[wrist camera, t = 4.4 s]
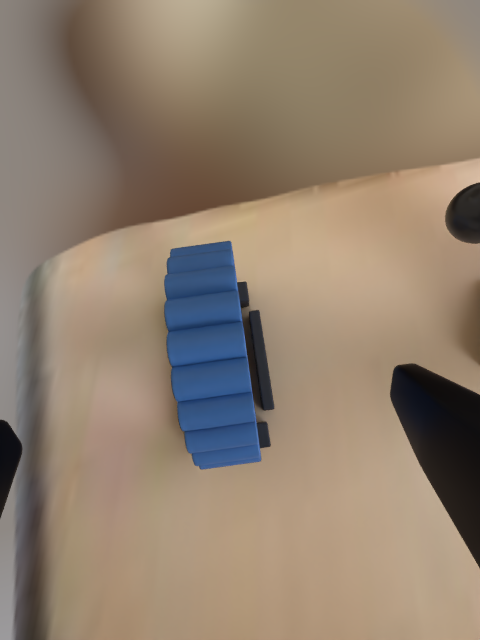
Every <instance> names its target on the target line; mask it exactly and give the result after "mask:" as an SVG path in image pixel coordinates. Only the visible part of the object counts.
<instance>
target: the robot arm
mask: <svg viewBox="0 0 480 640" xmlns="http://www.w3.org/2000/svg"><path fill="white" fill-rule="evenodd" d="M390 397H391V401H392V404H393V406H394V408H395V411H396V413H397V415H398V417H399V419H400V422H401V424H402V426H403V428H404V431H405V433H406V435H407V437H408V440H409V442H410V444H411V446H412V449H413V451H414V453H415V455H416V457H417V459H418V461H419V463H420V465H421V467H422V469H423V471H424V473H425V474H426V476H427V478H428V480H429V481H430V483H431V485H432V487H433V488H434V490H435V492H436V493H437V495H438V497H439V499H440V500H441V502H442V504H443V506H444V507H445V509H446V511H447V512H448V514H449V516H450V518H451V519H452V521H453V523H454V525H455V526H456V528H457V530H458V531H459V533H460V535H461V537H462V538H463V540H464V542H465V544H466V545H467V547H468V549H469V550H470V552H471V554H472V556H473V557H474V559H475V561H476V563H477V564H478V566H479V568H480V395H479V394H477V393H475V392H473V391H471V390H469V389H467V388H465V387H462V386H460V385H458V384H456V383H454V382H452V381H450V380H448V379H446V378H444V377H442V376H440V375H438V374H435V373H433V372H431V371H429V370H427V369H425V368H423V367H421V366H419V365H417V364H413V363H411V364H403V365H397V366H396V367H395V368H394V370H393V376H392V383H391V390H390ZM21 455H22V444H21V442H20V440H19V439H18V437H17V436H16V434H15V433H14V431H13V430H12V428H11V427H10V425H9V424H8V422H6V421H4V420H0V518H1V515H2V512H3V509H4V506H5V503H6V500H7V497H8V494H9V491H10V488H11V485H12V482H13V479H14V476H15V473H16V470H17V467H18V464H19V461H20V458H21Z"/></svg>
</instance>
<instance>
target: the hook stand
mask: <svg viewBox="0 0 480 640" xmlns="http://www.w3.org/2000/svg"><path fill="white" fill-rule="evenodd" d="M445 222H446V226H447V229H448V230H449V232H450V233H451V234H452V235H453V236H454V237H455V238H456V239H458V240H460V241H462V242H466V243H472V244H478V243H480V183H476V184H473V185H470V186H468V187H466V188H464V189H463V190H462V191H460V192H459V193H458V194H457V195H456V196H455V197H454V198H453V199H452V200H451V202H450V203H449V205H448V207H447V210H446V215H445Z"/></svg>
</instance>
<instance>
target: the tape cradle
mask: <svg viewBox="0 0 480 640" xmlns="http://www.w3.org/2000/svg"><path fill="white" fill-rule="evenodd" d="M237 286H238V293H239V299H240V307H246V306H249V296H248V289H247V283H246V282H239V283H237ZM249 319H250V325H251V332H252V339H253V346H254V353H255V360H256V366H257V373H258V380H259V387H260V394H261V401H262V407H263V410H272V409H274V402H273V396H272V389H271V383H270V376H269V370H268V364H267V357H266V351H265V344H264V338H263V331H262V325H261V319H260V312H259V310H256V311H250V312H249ZM257 431H258V438H259V446H260V448H264V447H270V446H271V444H270V437H269V431H268V424H267V422H260V423H257Z"/></svg>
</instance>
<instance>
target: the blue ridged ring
mask: <svg viewBox="0 0 480 640" xmlns="http://www.w3.org/2000/svg"><path fill="white" fill-rule="evenodd" d="M167 273H168V274H167V275H166V276H165V280H164V286H165V294H166V298H167V301H166V302H165V306H164V314H165V321H166V326H167V329H168V331H169V332H168V334H167V353H168V358H169V362H170V364H171V366H172V370H171V383H172V390H173V394H174V397H175V399H176V401H178V403H177V411H178V420H179V425H180V428H181V430H182V431H184V435H185V443H186V448H187V451H188V452H189V453H192V459H193V462H194V465H195V466H199V467H200V469H209V468H217V467H224V466H231V465H238V464H246V463H253V462H260V461H261V453H260V446H259V438H258V431H257V423H256V415H255V408H254V401H253V394H252V386H251V379H250V371H249V364H248V357H247V350H246V342H245V335H244V328H243V321H242V314H241V307H240V299H239V293H238V286H237V278H236V271H235V265H234V258H233V251H232V244H231V241H225V242H218V243H210V244H203V245H196V246H189V247H181V248H175V249H171V252H170V257H169V258H168V259H167Z"/></svg>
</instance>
